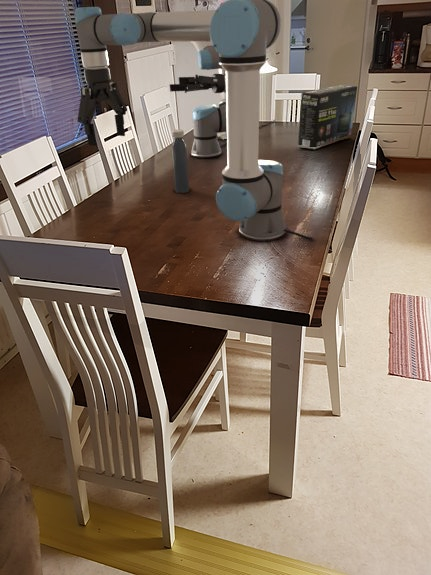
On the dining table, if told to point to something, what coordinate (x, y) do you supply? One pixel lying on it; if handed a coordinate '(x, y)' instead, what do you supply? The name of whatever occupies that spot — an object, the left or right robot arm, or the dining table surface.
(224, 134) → the fossil
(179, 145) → the bottle
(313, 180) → the dining table surface
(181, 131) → the cap
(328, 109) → the router box
